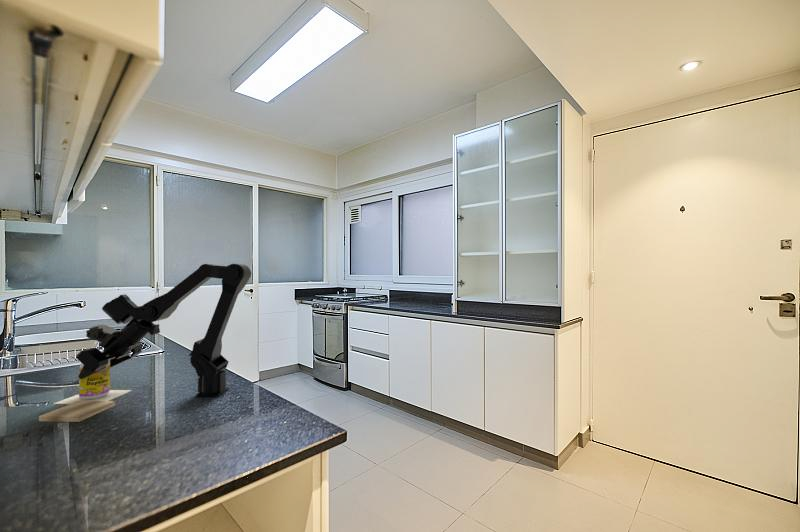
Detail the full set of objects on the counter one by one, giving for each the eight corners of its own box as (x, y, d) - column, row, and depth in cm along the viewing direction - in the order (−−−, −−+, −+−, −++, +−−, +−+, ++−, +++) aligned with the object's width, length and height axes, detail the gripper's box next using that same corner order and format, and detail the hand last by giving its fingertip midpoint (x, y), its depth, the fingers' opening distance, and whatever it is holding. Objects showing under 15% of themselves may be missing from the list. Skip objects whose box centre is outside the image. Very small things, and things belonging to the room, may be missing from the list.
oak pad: (114, 405, 94) (114, 401, 94) (79, 421, 84) (79, 416, 84) (78, 405, 94) (78, 400, 94) (38, 421, 84) (38, 416, 84)
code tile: (132, 390, 105) (132, 389, 105) (99, 404, 94) (99, 403, 94) (90, 390, 106) (90, 389, 106) (53, 404, 95) (53, 403, 95)
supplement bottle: (82, 402, 95) (82, 355, 95) (76, 397, 99) (76, 351, 99) (112, 395, 101) (113, 350, 101) (106, 390, 105) (106, 347, 105)
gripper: (131, 311, 110) (93, 347, 109) (84, 320, 91) (37, 363, 90) (158, 336, 111) (120, 372, 109) (116, 349, 92) (70, 393, 91)
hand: (89, 374), depth 100 cm, fingers closed on supplement bottle, 7 cm apart
